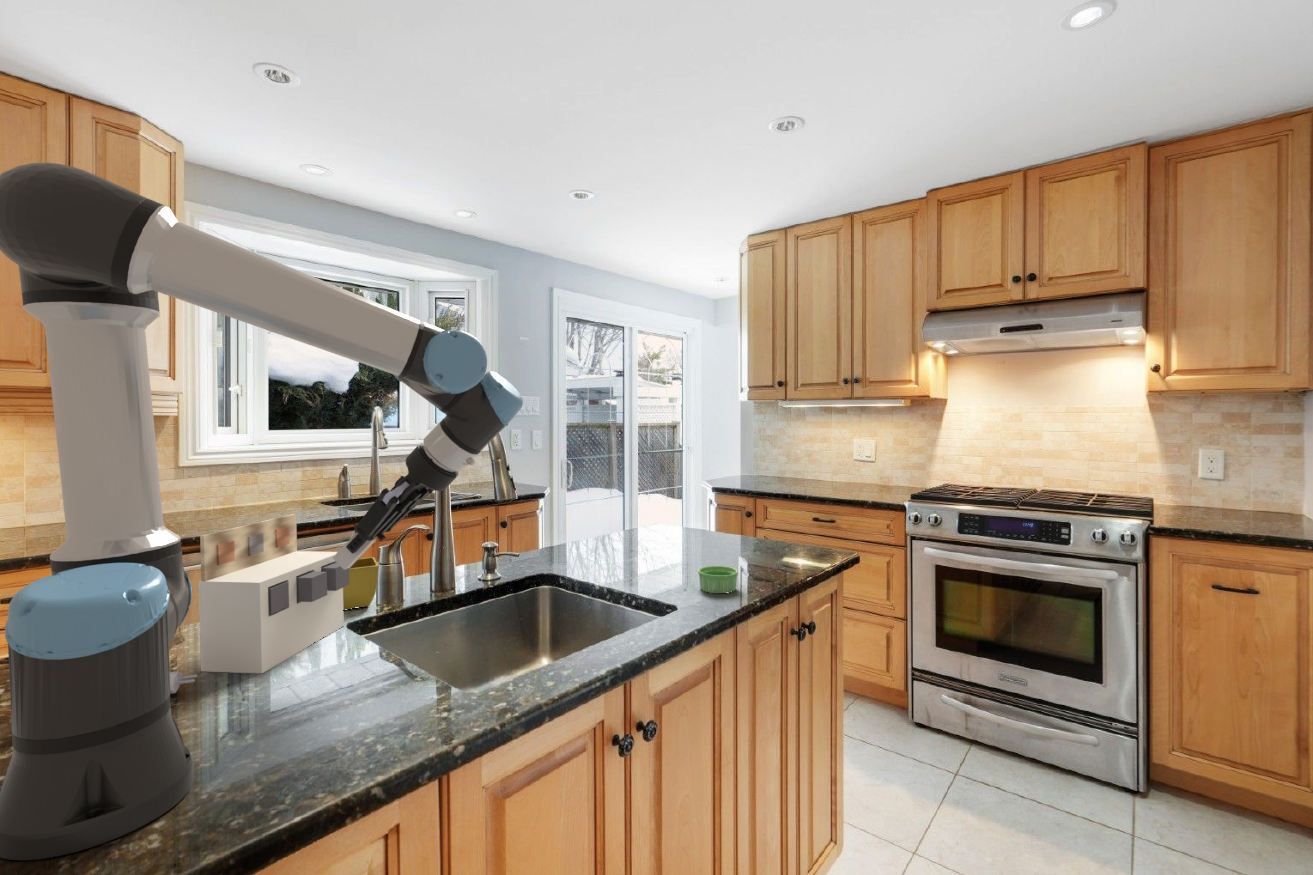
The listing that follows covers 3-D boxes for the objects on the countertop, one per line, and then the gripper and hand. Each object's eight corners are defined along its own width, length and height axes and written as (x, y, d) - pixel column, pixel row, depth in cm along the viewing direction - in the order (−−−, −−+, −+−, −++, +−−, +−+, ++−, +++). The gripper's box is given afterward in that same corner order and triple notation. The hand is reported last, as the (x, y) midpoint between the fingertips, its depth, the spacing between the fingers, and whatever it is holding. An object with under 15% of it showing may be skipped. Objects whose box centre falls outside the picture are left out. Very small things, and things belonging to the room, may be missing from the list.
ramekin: (725, 582, 145) (725, 564, 145) (745, 592, 136) (745, 572, 136) (691, 586, 141) (691, 567, 141) (710, 597, 133) (710, 577, 133)
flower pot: (330, 616, 120) (329, 570, 120) (328, 604, 128) (327, 561, 127) (379, 609, 125) (378, 565, 124) (374, 597, 132) (374, 556, 132)
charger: (189, 708, 83) (39, 735, 76) (202, 682, 91) (68, 704, 84) (187, 674, 83) (37, 697, 76) (202, 650, 91) (67, 670, 84)
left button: (271, 614, 95) (270, 588, 95) (252, 613, 95) (251, 588, 95) (289, 606, 99) (288, 581, 99) (270, 605, 99) (269, 581, 99)
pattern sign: (206, 581, 94) (205, 536, 93) (201, 581, 94) (200, 535, 94) (298, 551, 115) (297, 513, 114) (294, 551, 115) (293, 513, 114)
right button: (336, 590, 108) (335, 568, 108) (318, 590, 108) (318, 567, 108) (349, 584, 112) (348, 562, 112) (332, 584, 112) (332, 562, 112)
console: (262, 673, 94) (259, 582, 93) (200, 671, 94) (198, 581, 94) (343, 626, 114) (342, 551, 114) (293, 624, 115) (291, 550, 115)
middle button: (312, 601, 101) (311, 578, 101) (293, 601, 102) (293, 577, 102) (327, 594, 105) (326, 571, 105) (309, 594, 106) (309, 571, 106)
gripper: (439, 479, 88) (332, 591, 90) (474, 470, 101) (379, 569, 103) (403, 442, 88) (297, 555, 90) (442, 438, 101) (349, 537, 103)
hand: (341, 562), depth 97 cm, fingers closed
